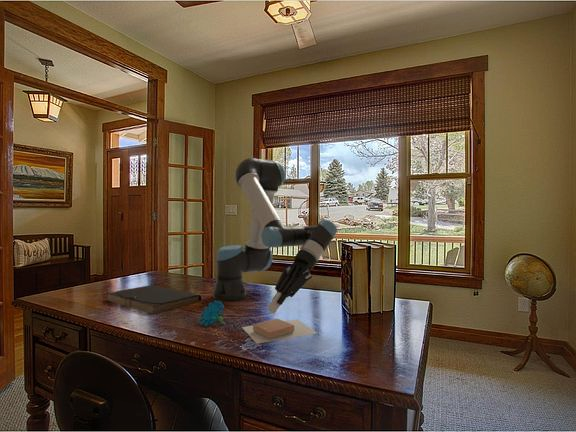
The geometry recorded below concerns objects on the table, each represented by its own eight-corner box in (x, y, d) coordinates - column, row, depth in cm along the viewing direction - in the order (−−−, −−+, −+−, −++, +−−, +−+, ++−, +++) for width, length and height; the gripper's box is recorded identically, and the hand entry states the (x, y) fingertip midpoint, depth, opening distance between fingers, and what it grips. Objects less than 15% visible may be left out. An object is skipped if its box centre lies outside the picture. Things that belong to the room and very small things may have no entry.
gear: (193, 317, 116) (212, 295, 120) (203, 326, 120) (222, 304, 123) (207, 330, 108) (228, 306, 112) (218, 339, 111) (237, 315, 115)
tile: (277, 318, 113) (253, 324, 107) (294, 325, 106) (269, 332, 100) (277, 325, 113) (252, 331, 107) (294, 332, 106) (269, 340, 100)
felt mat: (241, 328, 111) (241, 327, 111) (297, 320, 120) (297, 319, 120) (256, 344, 97) (256, 343, 97) (317, 334, 106) (317, 333, 106)
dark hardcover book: (106, 292, 142) (155, 283, 163) (106, 302, 142) (155, 291, 163) (152, 305, 124) (201, 293, 145) (152, 315, 124) (201, 302, 145)
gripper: (327, 264, 113) (289, 323, 102) (301, 260, 123) (265, 312, 112) (316, 250, 109) (276, 309, 99) (291, 247, 119) (252, 300, 109)
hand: (270, 311), depth 106 cm, fingers closed
